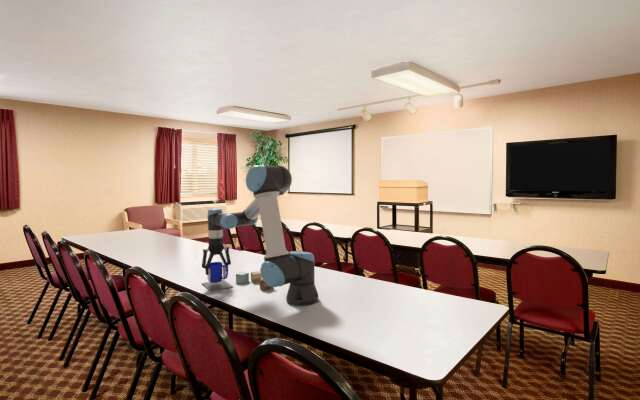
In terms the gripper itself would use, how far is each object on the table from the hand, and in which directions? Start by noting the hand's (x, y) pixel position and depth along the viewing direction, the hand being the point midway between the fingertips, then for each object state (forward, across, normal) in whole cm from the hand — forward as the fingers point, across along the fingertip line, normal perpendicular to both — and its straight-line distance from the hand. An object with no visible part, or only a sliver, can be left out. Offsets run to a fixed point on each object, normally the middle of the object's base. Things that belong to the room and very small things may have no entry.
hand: (216, 279), depth 194 cm
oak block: (+4, -21, +4) cm, 22 cm away
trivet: (+4, 0, 0) cm, 4 cm away
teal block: (+4, -14, +1) cm, 15 cm away
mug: (+2, -1, 0) cm, 2 cm away
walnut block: (+4, -20, +20) cm, 29 cm away
